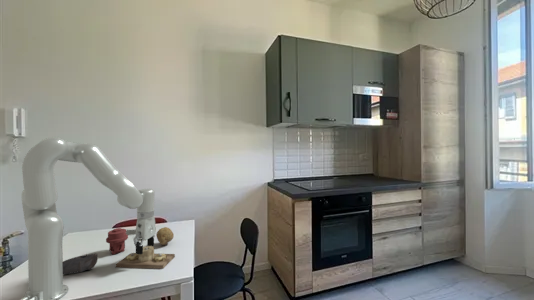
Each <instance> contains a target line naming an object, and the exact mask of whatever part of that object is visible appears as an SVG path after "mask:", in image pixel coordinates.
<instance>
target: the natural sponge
mask: <svg viewBox="0 0 534 300" xmlns="http://www.w3.org/2000/svg"><path fill="white" fill-rule="evenodd" d="M155 235H156V236H155V237H156V239H157V241H158V243H159V245H162V246H165V245H167V244H168V243H170V242H171V241H172V240H173V239H174V232H173V230H172V229H171V228H170V227H166V226H164V227H161V228H159V229H158V230H157V232H156V233H155Z"/></svg>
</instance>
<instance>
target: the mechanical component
mask: <svg viewBox="0 0 534 300" xmlns="http://www.w3.org/2000/svg"><path fill="white" fill-rule="evenodd" d="M128 239H129V235H128V234H127V229H125V228H121V227H117V228H113V229H111V230H109V231H108V232H107V237H106V239H105V243H108V244H109V252H111V255H116V254H119V253H123V252H125V250H126V249H125V248H126V241H127V240H128Z"/></svg>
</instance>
